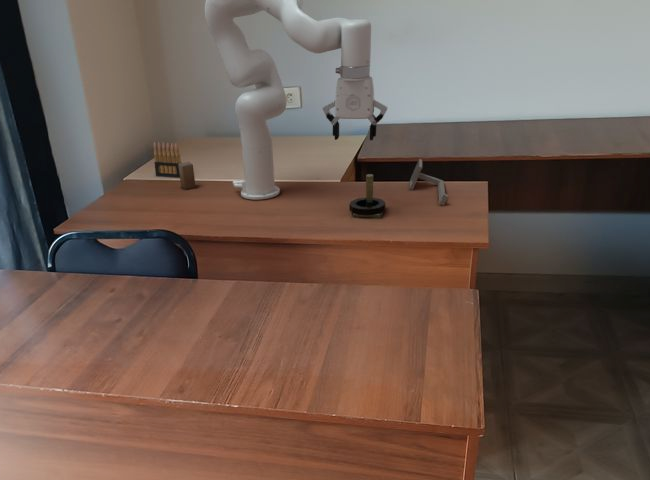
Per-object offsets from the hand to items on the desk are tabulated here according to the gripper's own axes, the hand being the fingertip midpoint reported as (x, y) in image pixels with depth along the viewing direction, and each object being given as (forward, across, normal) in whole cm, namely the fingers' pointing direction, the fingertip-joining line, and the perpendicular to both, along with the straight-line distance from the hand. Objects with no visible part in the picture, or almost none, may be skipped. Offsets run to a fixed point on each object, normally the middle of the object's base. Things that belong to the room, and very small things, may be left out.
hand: (354, 138), depth 183 cm
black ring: (+20, +4, 0) cm, 20 cm away
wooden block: (+22, -59, +19) cm, 66 cm away
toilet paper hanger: (+21, +20, +19) cm, 34 cm away
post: (+21, +5, 0) cm, 21 cm away
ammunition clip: (+23, -71, +31) cm, 81 cm away
